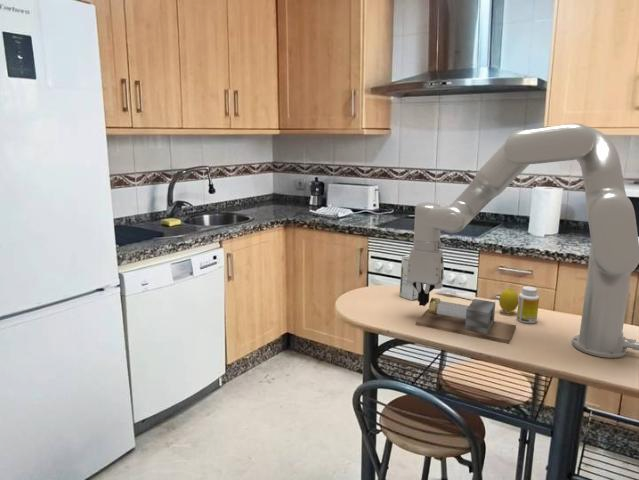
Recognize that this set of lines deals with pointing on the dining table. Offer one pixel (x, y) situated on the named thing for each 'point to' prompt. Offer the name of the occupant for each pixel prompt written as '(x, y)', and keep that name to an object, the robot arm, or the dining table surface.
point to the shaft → (447, 308)
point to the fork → (453, 294)
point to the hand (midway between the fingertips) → (423, 304)
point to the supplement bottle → (528, 305)
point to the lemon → (508, 300)
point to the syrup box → (405, 288)
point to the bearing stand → (471, 322)
